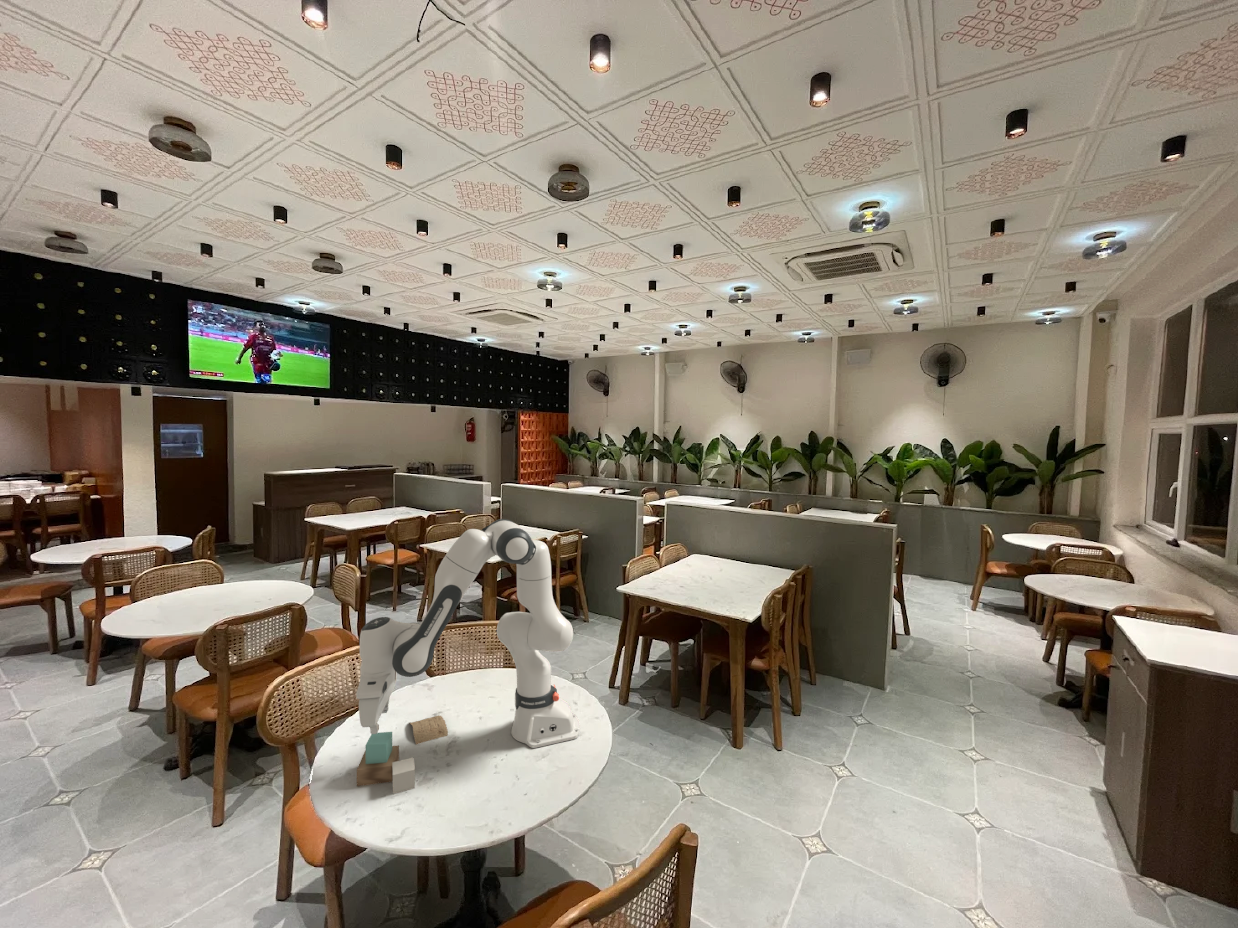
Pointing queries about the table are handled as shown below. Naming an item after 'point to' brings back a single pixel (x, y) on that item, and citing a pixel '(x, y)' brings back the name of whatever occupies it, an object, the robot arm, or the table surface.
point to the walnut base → (376, 769)
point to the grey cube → (403, 775)
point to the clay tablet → (429, 729)
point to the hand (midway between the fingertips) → (379, 721)
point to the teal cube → (379, 748)
